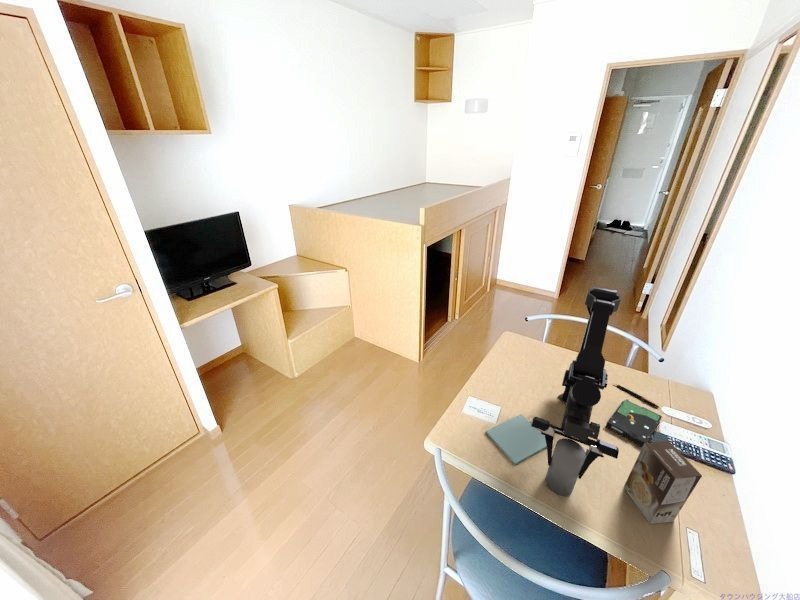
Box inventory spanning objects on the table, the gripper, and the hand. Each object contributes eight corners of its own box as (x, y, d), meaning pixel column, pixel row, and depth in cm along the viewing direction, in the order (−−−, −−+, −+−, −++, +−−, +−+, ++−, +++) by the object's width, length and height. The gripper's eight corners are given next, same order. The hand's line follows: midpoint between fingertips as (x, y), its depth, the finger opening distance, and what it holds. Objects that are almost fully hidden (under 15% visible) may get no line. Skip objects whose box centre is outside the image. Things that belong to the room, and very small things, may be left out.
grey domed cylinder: (557, 468, 87) (568, 434, 81) (578, 489, 82) (591, 454, 76) (539, 479, 84) (549, 444, 78) (560, 501, 79) (573, 466, 73)
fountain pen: (611, 384, 115) (612, 381, 114) (612, 383, 115) (614, 380, 115) (658, 410, 104) (659, 406, 104) (659, 408, 105) (661, 404, 104)
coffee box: (675, 521, 75) (705, 477, 67) (649, 524, 74) (676, 480, 67) (645, 483, 83) (669, 439, 75) (621, 485, 82) (643, 442, 75)
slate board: (520, 415, 103) (520, 413, 102) (551, 444, 93) (552, 442, 93) (485, 432, 97) (485, 430, 97) (514, 465, 88) (515, 463, 87)
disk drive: (644, 450, 92) (659, 421, 101) (647, 443, 91) (662, 415, 99) (604, 428, 99) (622, 403, 107) (606, 421, 98) (624, 397, 106)
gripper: (539, 392, 79) (522, 457, 76) (630, 422, 71) (615, 497, 68) (539, 396, 89) (524, 454, 86) (619, 422, 81) (605, 488, 77)
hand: (563, 471), depth 79 cm, fingers closed on grey domed cylinder, 6 cm apart
